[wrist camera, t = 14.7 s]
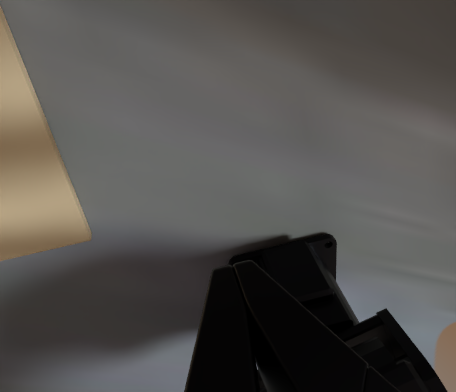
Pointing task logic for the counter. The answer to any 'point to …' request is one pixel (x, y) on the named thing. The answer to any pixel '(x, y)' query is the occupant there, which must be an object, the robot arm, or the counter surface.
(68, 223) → the mat
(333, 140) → the counter surface
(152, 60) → the counter surface
